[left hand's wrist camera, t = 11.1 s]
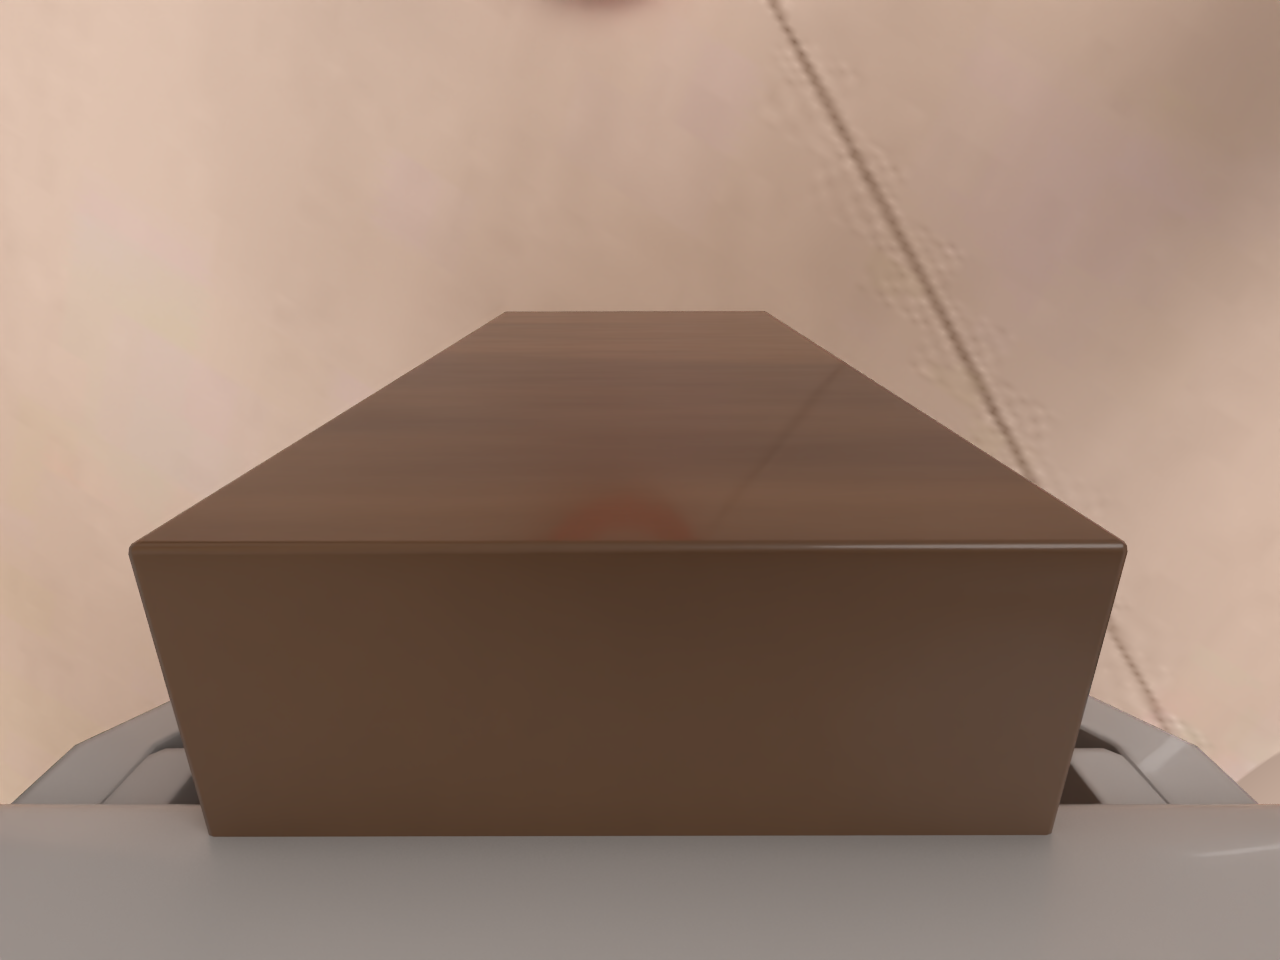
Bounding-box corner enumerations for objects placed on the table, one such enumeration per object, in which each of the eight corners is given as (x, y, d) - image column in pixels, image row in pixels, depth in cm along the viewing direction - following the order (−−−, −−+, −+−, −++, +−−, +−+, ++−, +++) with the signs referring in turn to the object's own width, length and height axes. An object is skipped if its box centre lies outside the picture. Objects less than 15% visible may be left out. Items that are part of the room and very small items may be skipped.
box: (504, 311, 15) (120, 544, 4) (766, 311, 15) (1136, 543, 4) (549, 977, 23) (460, 1724, 12) (726, 977, 23) (813, 1721, 12)
